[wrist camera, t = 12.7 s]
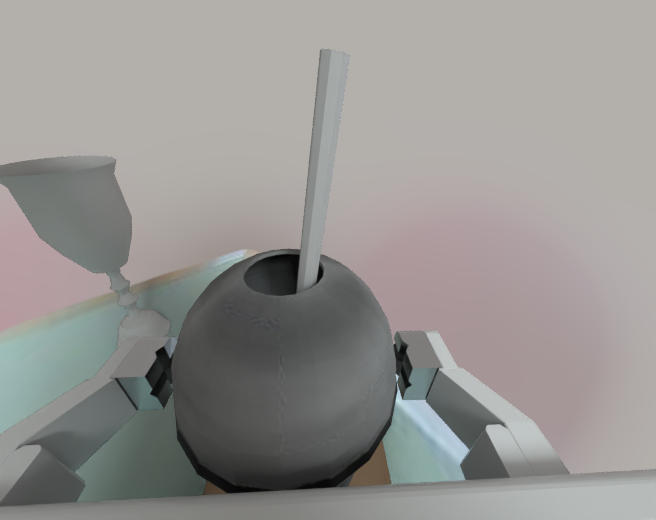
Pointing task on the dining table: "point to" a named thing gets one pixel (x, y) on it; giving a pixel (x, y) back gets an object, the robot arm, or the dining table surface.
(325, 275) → the beverage cup
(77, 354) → the dining table surface
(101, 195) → the chalice
